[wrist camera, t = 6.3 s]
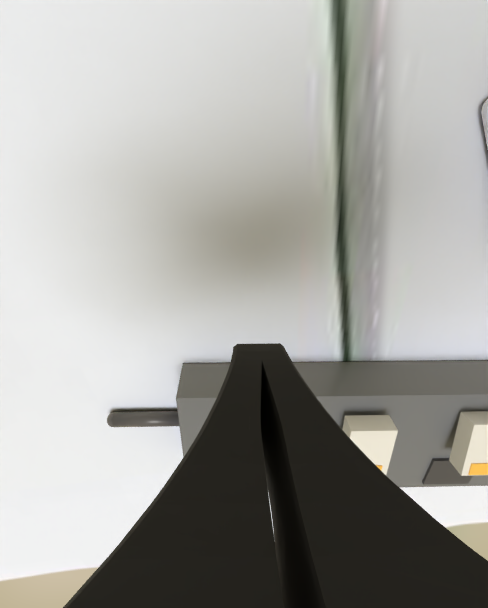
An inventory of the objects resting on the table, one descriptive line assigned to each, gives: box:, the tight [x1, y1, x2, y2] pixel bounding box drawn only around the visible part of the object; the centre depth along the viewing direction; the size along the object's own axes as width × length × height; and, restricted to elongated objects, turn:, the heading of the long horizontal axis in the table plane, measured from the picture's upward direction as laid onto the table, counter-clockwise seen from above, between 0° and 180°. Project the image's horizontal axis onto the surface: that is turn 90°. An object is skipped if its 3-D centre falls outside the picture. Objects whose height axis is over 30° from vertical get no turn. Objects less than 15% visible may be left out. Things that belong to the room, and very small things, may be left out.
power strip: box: [107, 360, 488, 488], centre depth 23 cm, size 28×9×3 cm, turn 90°
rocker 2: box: [449, 411, 488, 476], centre depth 20 cm, size 3×4×1 cm
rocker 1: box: [342, 415, 398, 475], centre depth 20 cm, size 3×4×1 cm
